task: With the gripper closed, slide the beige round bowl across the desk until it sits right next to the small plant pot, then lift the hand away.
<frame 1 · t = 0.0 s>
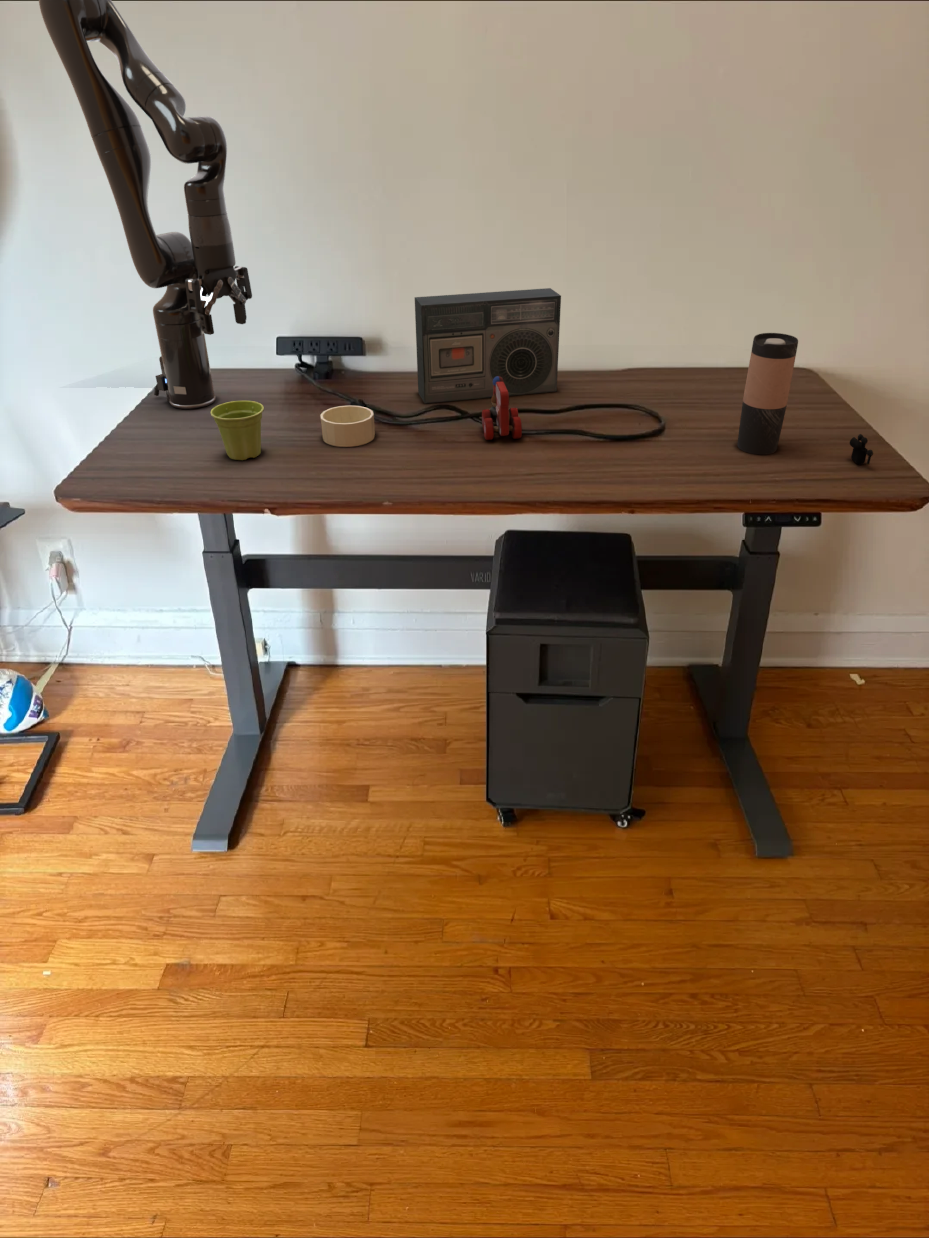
hand: (225, 328, 175), 17 cm above the table, tool pointing down, fingers open, 8 cm apart
plant pot: (244, 455, 166), on the table
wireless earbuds: (854, 464, 160), on the table
travel mug: (756, 448, 166), on the table
beige round bowl: (348, 437, 173), on the table
red toy vehicle: (501, 434, 174), on the table
cassette player: (487, 393, 194), on the table
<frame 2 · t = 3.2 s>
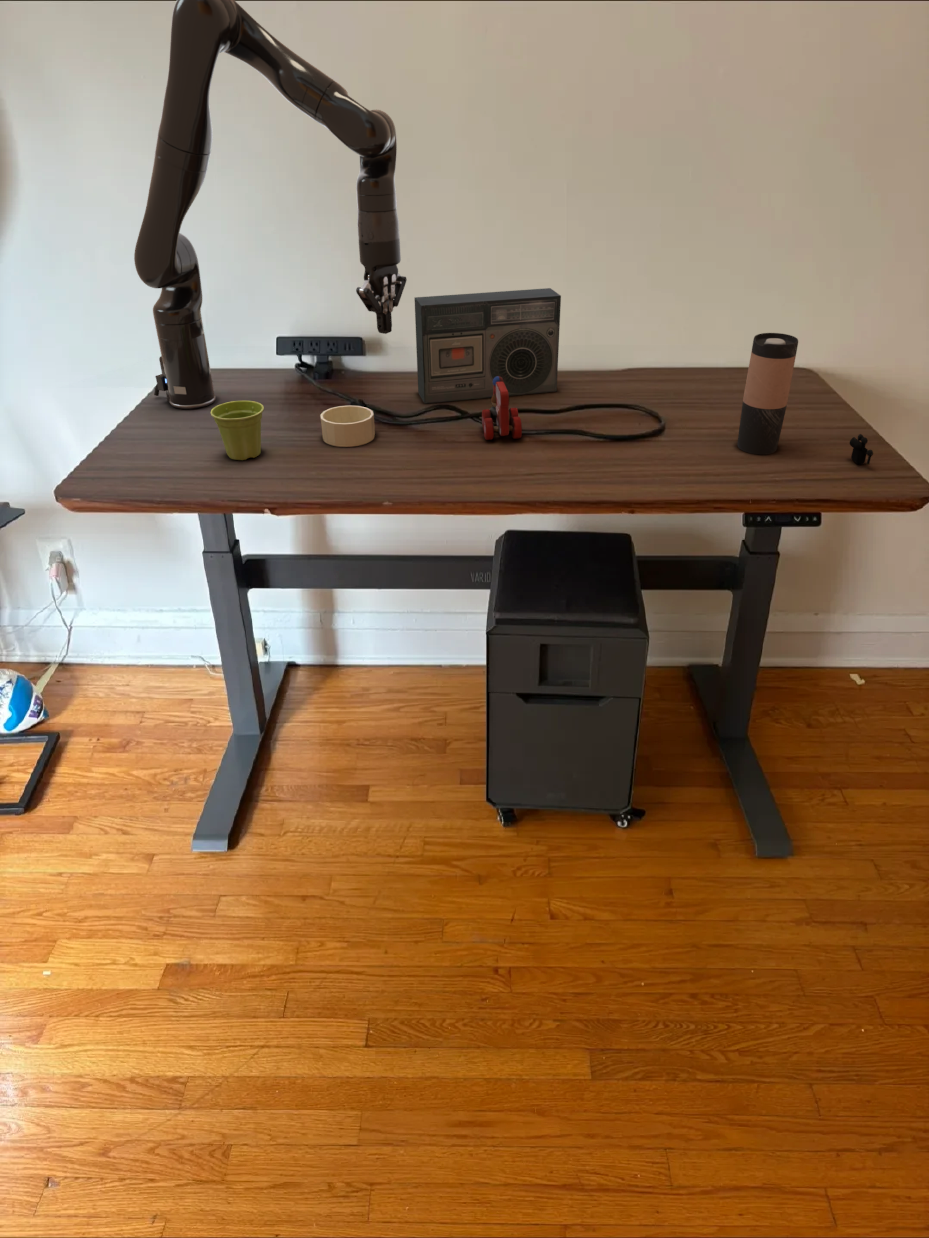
hand: (384, 332, 173), 17 cm above the table, tool pointing down, fingers closed
nothing on the table moved.
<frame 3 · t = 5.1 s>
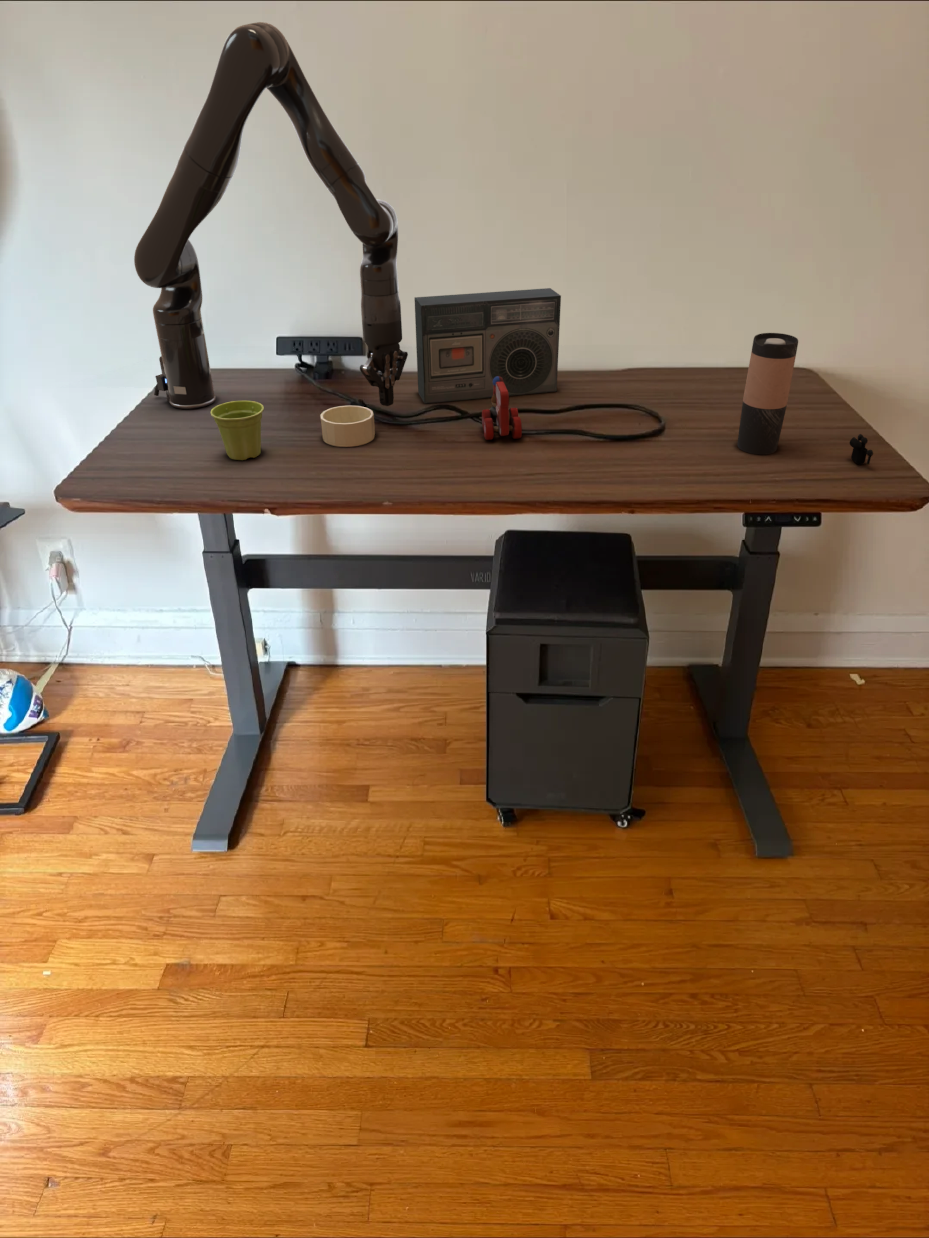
hand: (386, 404, 180), 3 cm above the table, tool pointing down, fingers closed
nothing on the table moved.
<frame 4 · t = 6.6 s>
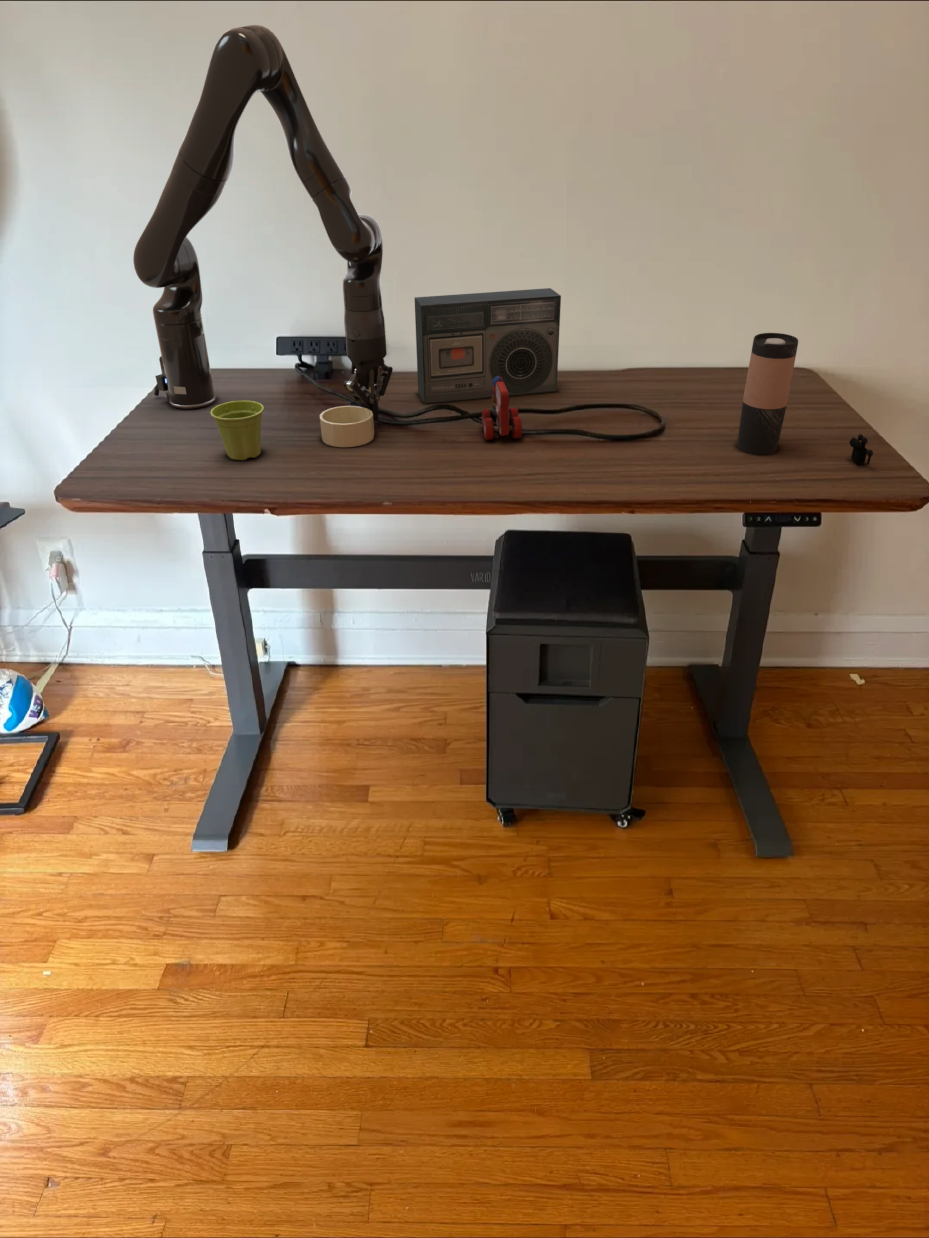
hand: (371, 420, 177), 1 cm above the table, tool pointing down, fingers closed
beige round bowl: (348, 437, 173), on the table, touching gripper
everything else where it was.
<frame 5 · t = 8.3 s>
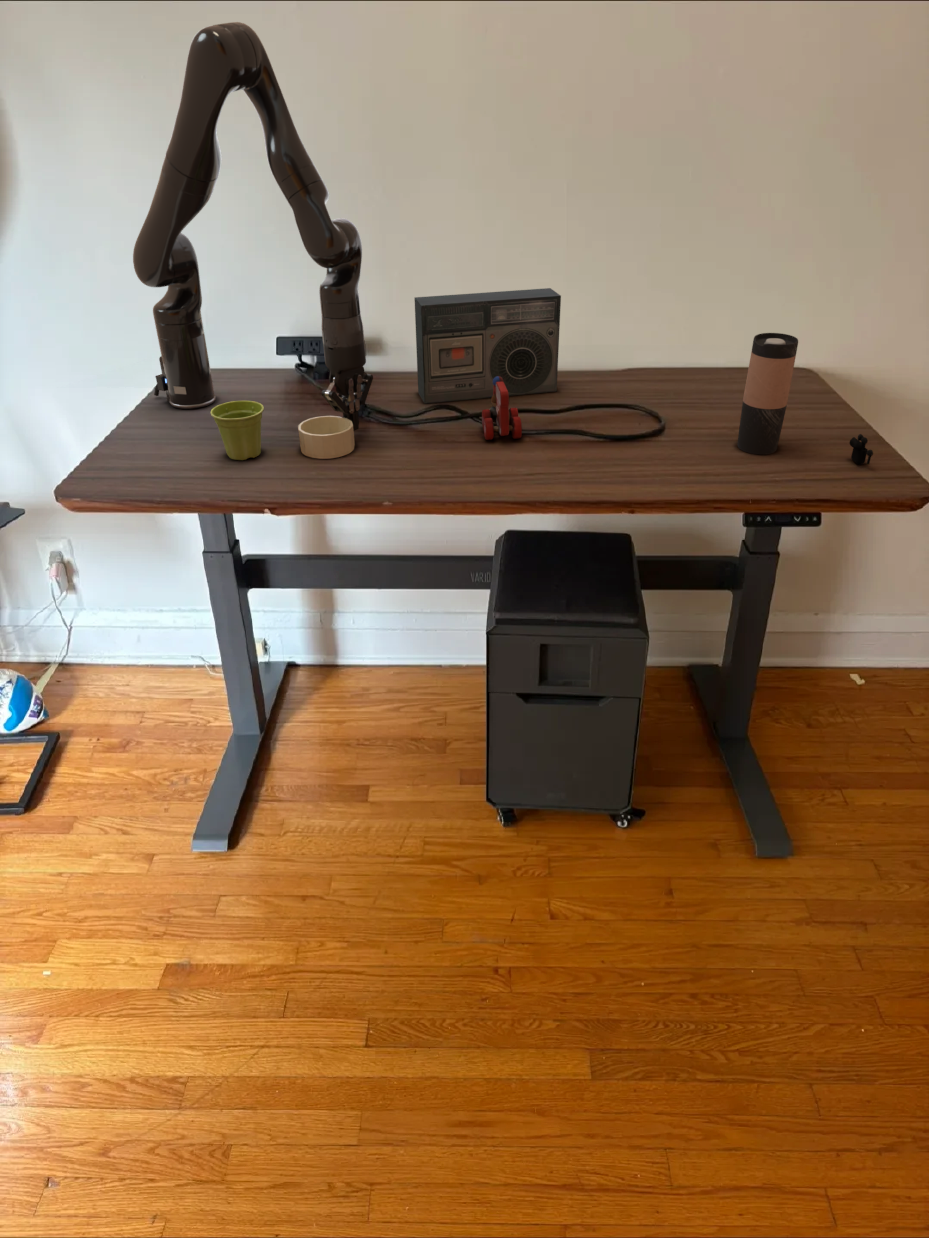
hand: (352, 429, 173), 1 cm above the table, tool pointing down, fingers closed
beige round bowl: (327, 448, 168), on the table, touching gripper
everything else where it was.
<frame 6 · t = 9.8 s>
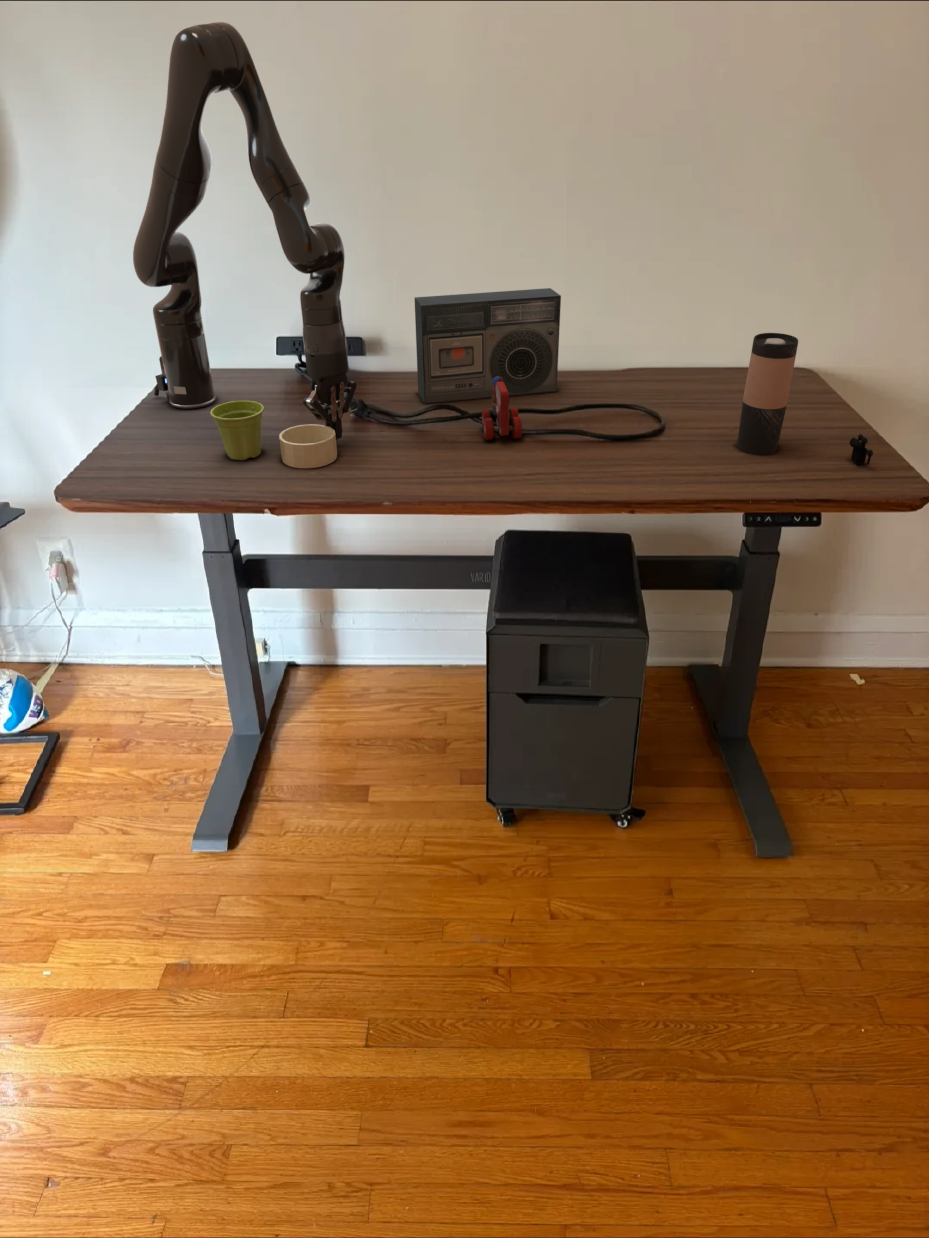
hand: (335, 438, 169), 1 cm above the table, tool pointing down, fingers closed
beige round bowl: (309, 457, 164), on the table, touching gripper
everything else where it was.
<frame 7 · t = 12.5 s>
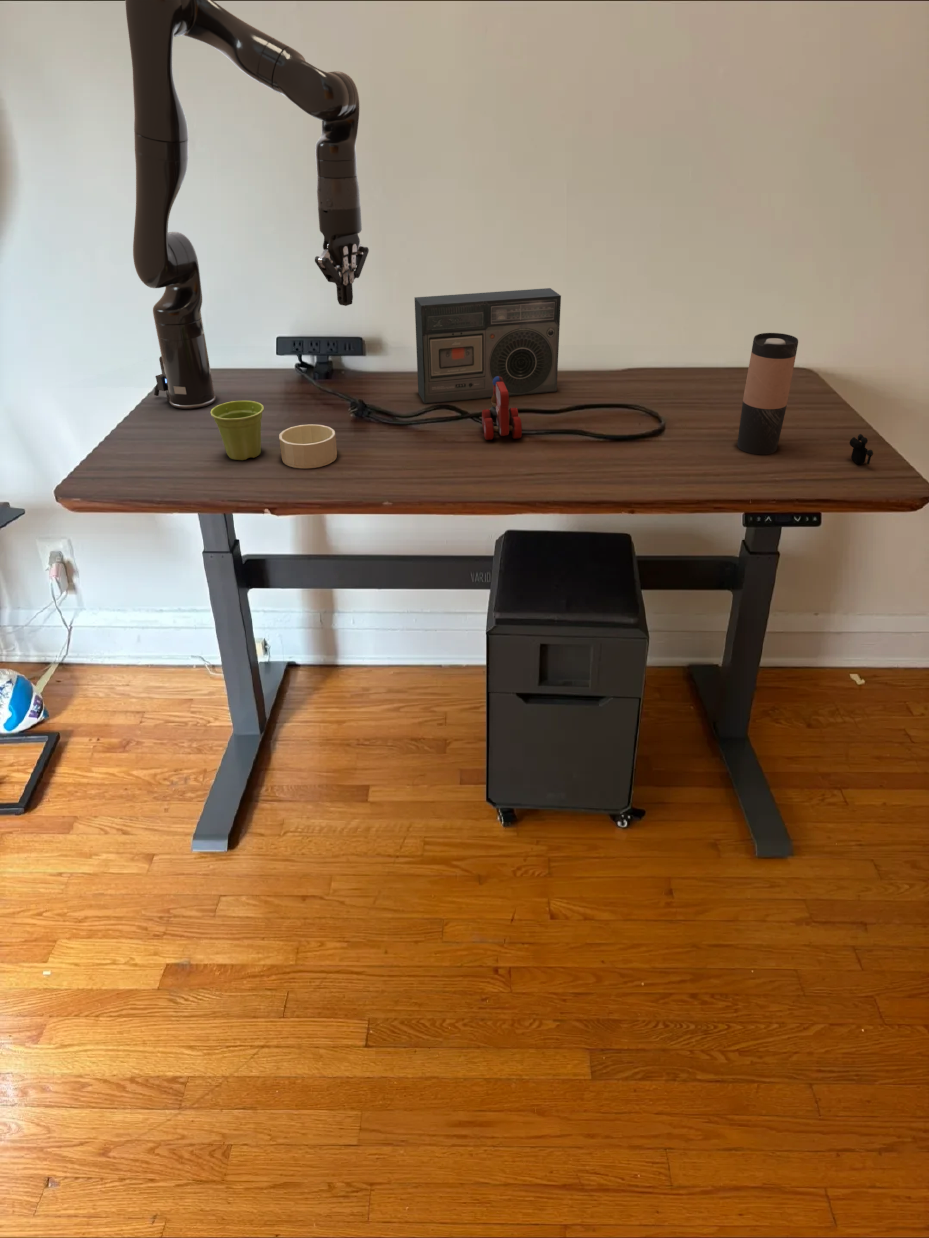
hand: (345, 304, 168), 23 cm above the table, tool pointing down, fingers closed
beige round bowl: (309, 457, 164), on the table
everything else where it was.
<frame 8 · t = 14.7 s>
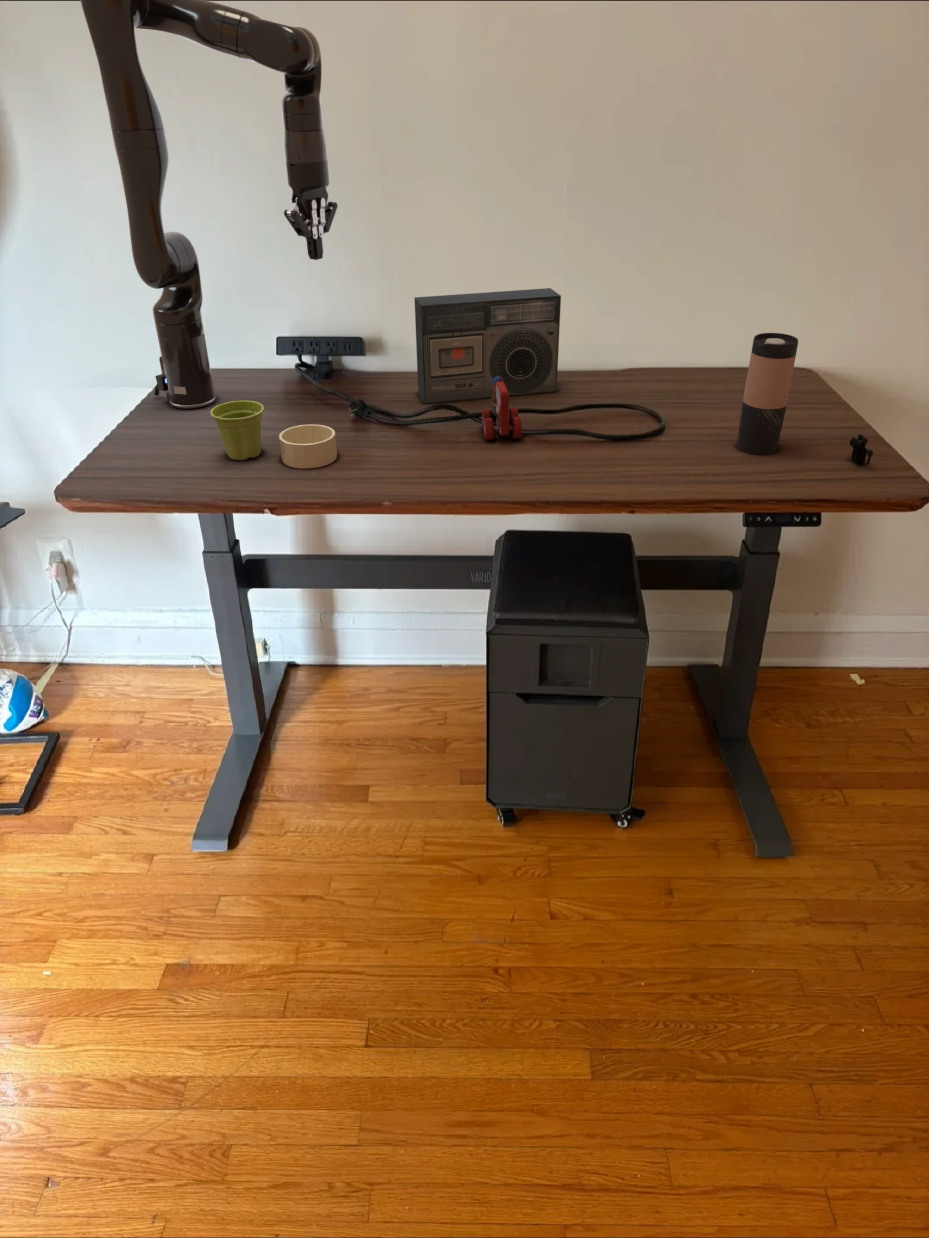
hand: (316, 258, 172), 29 cm above the table, tool pointing down, fingers closed
nothing on the table moved.
at the end: beige round bowl 12.6 cm from the plant pot (horizontally); beige round bowl tilted 0°; plant pot moved 0.2 cm from its start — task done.
